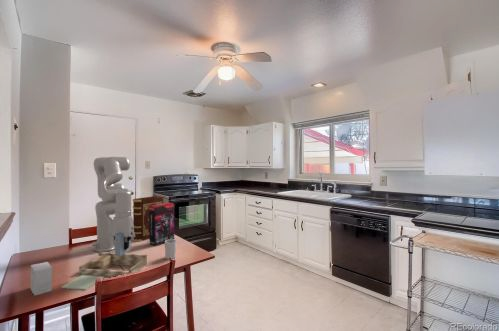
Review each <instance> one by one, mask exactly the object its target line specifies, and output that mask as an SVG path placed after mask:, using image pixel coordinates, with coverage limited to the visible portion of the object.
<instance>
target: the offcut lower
mask: <svg viewBox="0 0 499 331" xmlns="http://www.w3.org/2000/svg"><path fill="white" fill-rule="evenodd" d="M111 267H113V264H112V261H110V262H109V263H108V264H106V265H105V266H104V267H91V266H90V267H89V269H99V270H109V269H110V268H111Z"/></svg>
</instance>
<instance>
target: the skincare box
mask: <svg viewBox="0 0 499 331" xmlns="http://www.w3.org/2000/svg"><path fill="white" fill-rule="evenodd" d="M29 287H30V290H31V293H32V294H34V295H33V296H40V295H42V294H46V293H50V292H52V291H53V267H52V265H51V264H50V263H49V262H48V261H45V262H40V263H34V264H31V265H30V286H29Z"/></svg>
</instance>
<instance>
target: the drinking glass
mask: <svg viewBox="0 0 499 331" xmlns="http://www.w3.org/2000/svg"><path fill="white" fill-rule="evenodd" d="M176 252H177V239H175V238H174V239H169V240H166V241H165V243H164V253H165V256H164V257H165V259H166V260H170V259H169V258H174V259H176V257H177V253H176Z"/></svg>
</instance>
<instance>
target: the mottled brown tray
mask: <svg viewBox="0 0 499 331" xmlns="http://www.w3.org/2000/svg"><path fill="white" fill-rule="evenodd" d="M98 256H111V261H112V265H116V266H117V265H118V266H132V267H131V268H128V269H129V270H127V271H126V270H112V269H106V270H99V269H89V267H90V266H91V261H93V260H94V259H96V258H97V257H95V258H93V259H90V260H89V261H87V262H85V263H83V264H82V265H80V266H79V268H78V269H79V275H87V276H102V277H114V276H118V275H124V274H129V273H133V272H136V271H139V270H140V271H142V270H143V269H144V268H146V267H147V265H148V255H147V254H141V253H140V254H138V253H127V252H126V253H124V254H123V255H121V256H115V252H108V251H107V252H98ZM140 271H139V272H140Z"/></svg>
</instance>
